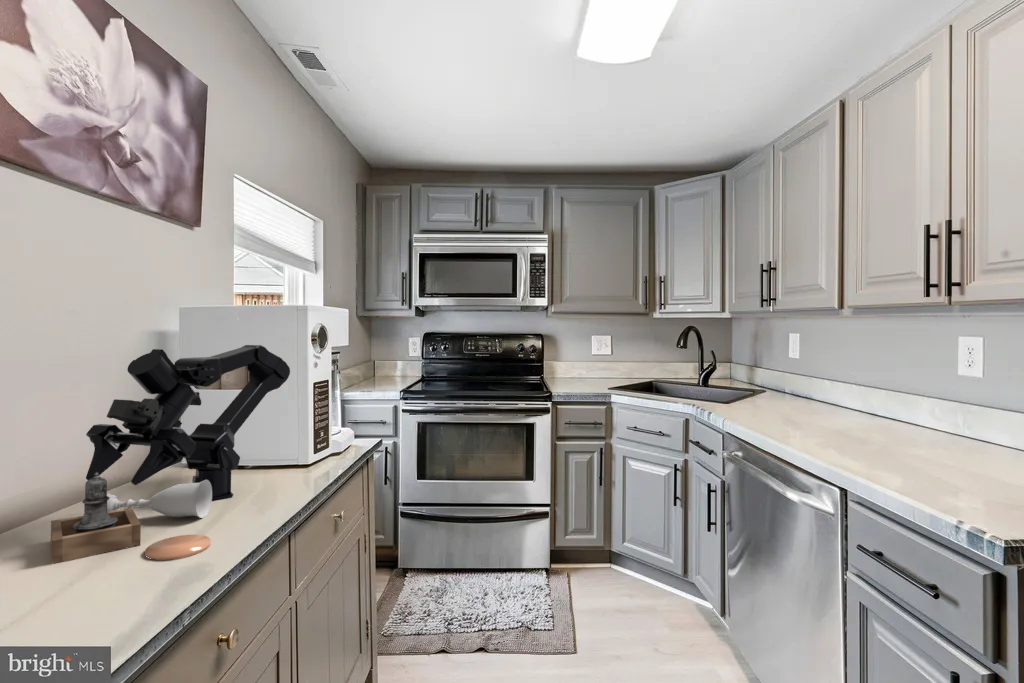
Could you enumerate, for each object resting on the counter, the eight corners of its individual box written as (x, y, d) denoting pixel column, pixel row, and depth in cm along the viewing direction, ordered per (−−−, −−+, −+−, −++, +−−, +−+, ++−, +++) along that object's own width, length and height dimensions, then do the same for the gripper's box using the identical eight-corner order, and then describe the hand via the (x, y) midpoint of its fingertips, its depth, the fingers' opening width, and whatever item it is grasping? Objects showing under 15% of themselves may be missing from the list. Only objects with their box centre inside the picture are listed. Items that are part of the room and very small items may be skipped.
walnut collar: (131, 526, 94) (131, 507, 94) (140, 545, 86) (140, 524, 86) (50, 541, 86) (50, 521, 86) (51, 563, 78) (52, 540, 78)
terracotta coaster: (203, 533, 91) (203, 530, 91) (216, 550, 84) (216, 546, 84) (141, 547, 85) (141, 543, 85) (149, 565, 78) (150, 561, 78)
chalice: (100, 533, 96) (203, 525, 99) (83, 512, 92) (191, 504, 95) (118, 500, 102) (215, 493, 104) (103, 478, 98) (204, 472, 100)
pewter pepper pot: (92, 552, 82) (93, 477, 82) (62, 548, 84) (63, 475, 84) (126, 538, 88) (127, 468, 88) (98, 535, 89) (99, 466, 89)
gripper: (97, 380, 95) (30, 452, 84) (185, 384, 92) (126, 459, 81) (134, 417, 103) (77, 487, 92) (216, 421, 100) (167, 495, 89)
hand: (110, 481), depth 88 cm, fingers open, 9 cm apart
